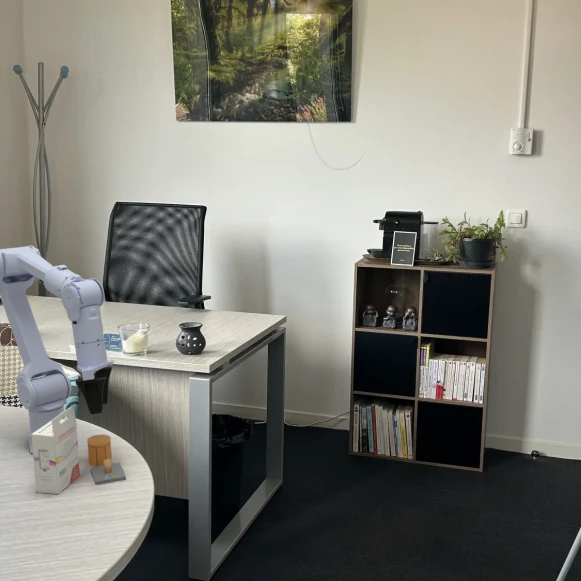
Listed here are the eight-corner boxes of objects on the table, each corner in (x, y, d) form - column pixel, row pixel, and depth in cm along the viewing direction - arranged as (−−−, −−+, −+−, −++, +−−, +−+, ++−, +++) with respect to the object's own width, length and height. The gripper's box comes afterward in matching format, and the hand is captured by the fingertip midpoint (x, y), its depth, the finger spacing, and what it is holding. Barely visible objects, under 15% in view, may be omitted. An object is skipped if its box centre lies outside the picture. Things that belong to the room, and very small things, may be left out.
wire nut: (87, 459, 152) (85, 436, 151) (109, 455, 154) (108, 433, 153) (90, 467, 148) (88, 444, 147) (113, 464, 150) (112, 441, 149)
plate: (90, 470, 147) (89, 455, 146) (119, 465, 149) (119, 451, 149) (95, 484, 141) (94, 469, 140) (126, 479, 143) (125, 464, 142)
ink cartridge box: (57, 473, 146) (52, 403, 143) (80, 475, 145) (76, 404, 142) (34, 492, 137) (28, 418, 135) (58, 495, 136) (53, 420, 134)
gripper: (105, 344, 138) (115, 414, 139) (114, 333, 152) (123, 397, 153) (67, 349, 137) (77, 419, 138) (79, 338, 151) (89, 402, 152)
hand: (99, 408), depth 145 cm, fingers open, 7 cm apart
